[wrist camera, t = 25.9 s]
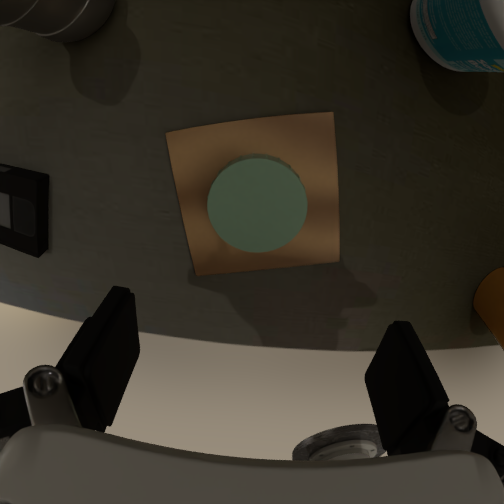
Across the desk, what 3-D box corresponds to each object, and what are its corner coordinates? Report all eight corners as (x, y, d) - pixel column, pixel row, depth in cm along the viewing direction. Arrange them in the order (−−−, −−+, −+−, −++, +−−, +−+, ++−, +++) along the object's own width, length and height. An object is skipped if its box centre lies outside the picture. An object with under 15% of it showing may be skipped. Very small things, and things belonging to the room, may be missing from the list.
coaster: (338, 259, 26) (339, 261, 26) (196, 273, 27) (196, 276, 27) (332, 111, 21) (333, 111, 20) (166, 132, 21) (165, 132, 21)
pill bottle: (434, 83, 19) (566, 98, 7) (388, 0, 16) (497, -58, 4) (491, 58, 17) (611, 69, 5) (452, -17, 14) (561, -51, 2)
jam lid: (225, 140, 21) (222, 144, 20) (318, 170, 22) (323, 177, 21) (200, 227, 25) (195, 237, 23) (285, 252, 25) (287, 264, 24)
